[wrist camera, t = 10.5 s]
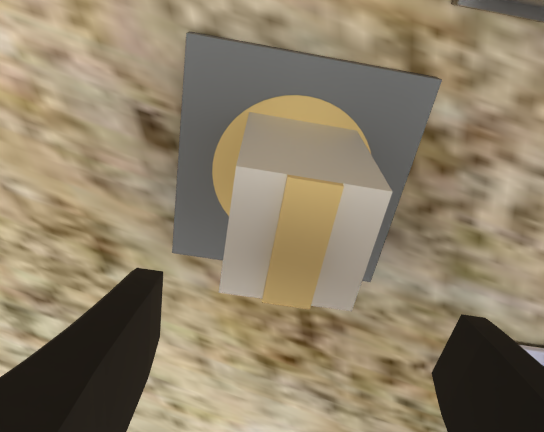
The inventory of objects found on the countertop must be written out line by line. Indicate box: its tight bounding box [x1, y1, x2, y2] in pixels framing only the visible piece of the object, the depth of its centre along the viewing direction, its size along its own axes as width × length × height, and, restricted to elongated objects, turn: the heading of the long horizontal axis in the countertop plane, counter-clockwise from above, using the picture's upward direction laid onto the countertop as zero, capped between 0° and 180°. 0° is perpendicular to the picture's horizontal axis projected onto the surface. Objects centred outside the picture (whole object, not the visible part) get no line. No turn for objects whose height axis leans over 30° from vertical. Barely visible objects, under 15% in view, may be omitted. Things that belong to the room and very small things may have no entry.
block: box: [219, 112, 392, 311], centre depth 15 cm, size 4×4×6 cm
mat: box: [172, 32, 442, 282], centre depth 18 cm, size 10×10×1 cm
